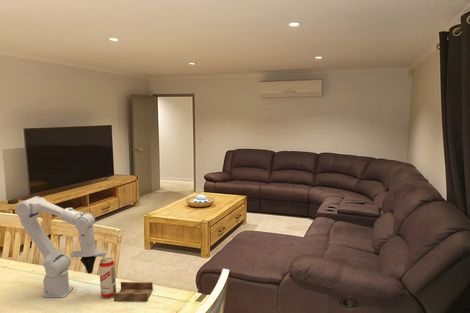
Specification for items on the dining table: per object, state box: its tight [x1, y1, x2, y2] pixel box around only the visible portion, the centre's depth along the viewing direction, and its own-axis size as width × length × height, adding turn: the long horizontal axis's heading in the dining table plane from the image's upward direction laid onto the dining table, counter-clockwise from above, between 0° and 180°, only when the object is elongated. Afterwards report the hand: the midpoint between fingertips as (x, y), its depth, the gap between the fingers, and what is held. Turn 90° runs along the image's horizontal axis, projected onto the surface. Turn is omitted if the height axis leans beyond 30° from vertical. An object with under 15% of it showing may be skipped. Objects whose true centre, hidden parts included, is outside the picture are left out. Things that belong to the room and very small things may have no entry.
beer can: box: [98, 257, 117, 299], centre depth 153 cm, size 6×6×16 cm
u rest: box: [113, 281, 154, 303], centre depth 154 cm, size 14×10×4 cm
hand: (90, 272), depth 153 cm, fingers closed
